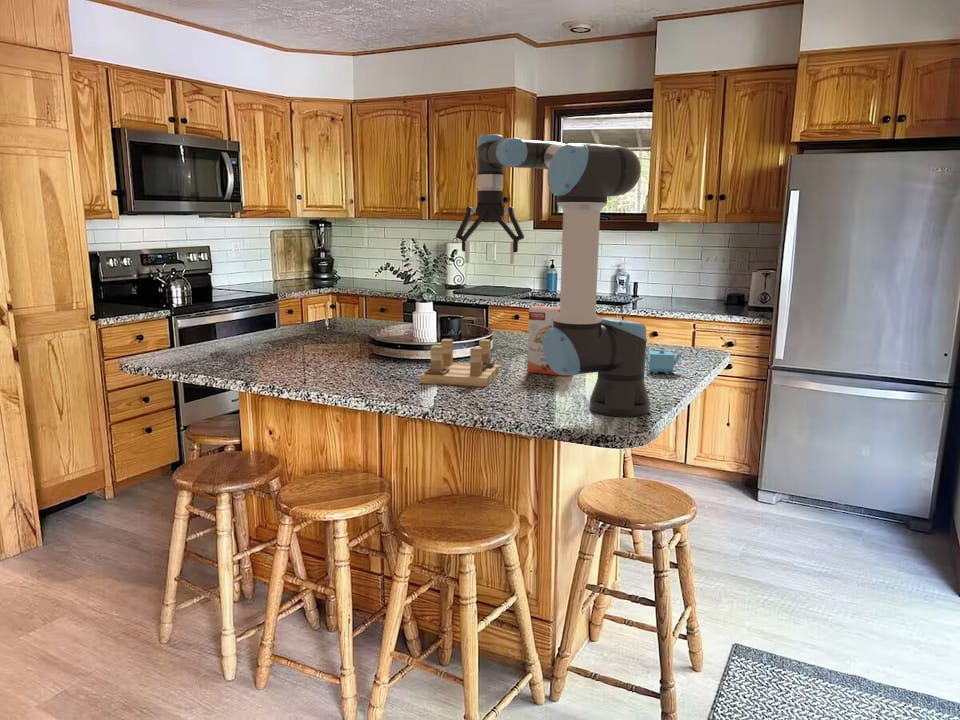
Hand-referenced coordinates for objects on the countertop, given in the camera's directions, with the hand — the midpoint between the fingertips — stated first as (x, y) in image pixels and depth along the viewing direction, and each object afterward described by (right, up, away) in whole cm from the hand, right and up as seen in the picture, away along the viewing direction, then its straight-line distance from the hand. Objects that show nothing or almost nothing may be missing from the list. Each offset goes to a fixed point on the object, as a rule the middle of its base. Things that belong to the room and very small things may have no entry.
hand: (489, 263), depth 213 cm
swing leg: (-2, -31, +6) cm, 32 cm away
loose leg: (-16, -33, 0) cm, 36 cm away
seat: (-9, -34, +5) cm, 36 cm away
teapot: (+56, -33, +14) cm, 66 cm away
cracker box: (+20, -33, +13) cm, 41 cm away
